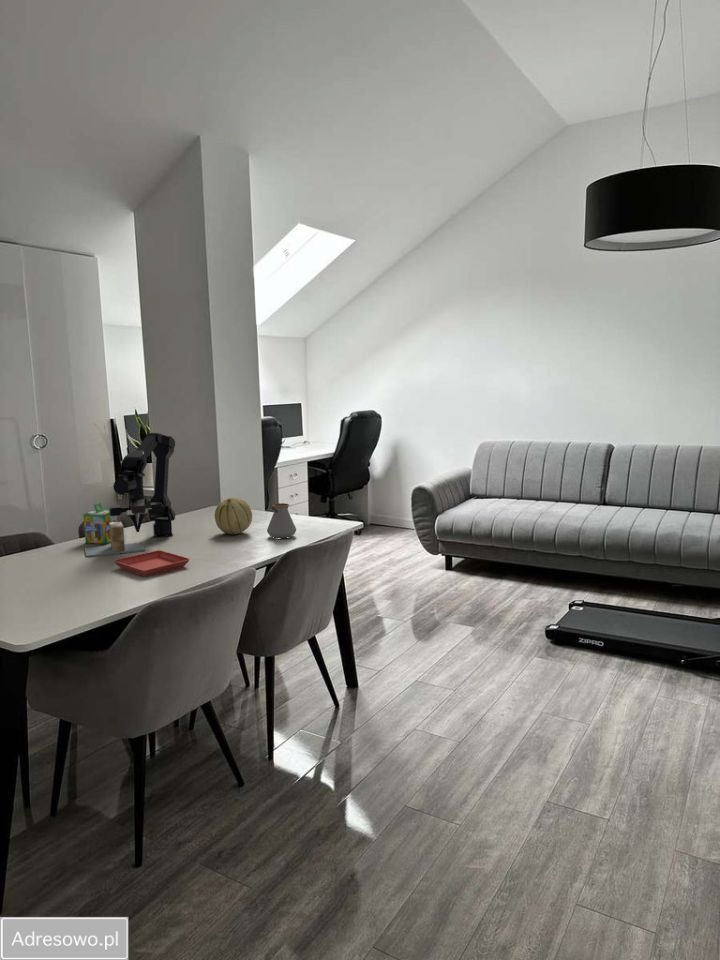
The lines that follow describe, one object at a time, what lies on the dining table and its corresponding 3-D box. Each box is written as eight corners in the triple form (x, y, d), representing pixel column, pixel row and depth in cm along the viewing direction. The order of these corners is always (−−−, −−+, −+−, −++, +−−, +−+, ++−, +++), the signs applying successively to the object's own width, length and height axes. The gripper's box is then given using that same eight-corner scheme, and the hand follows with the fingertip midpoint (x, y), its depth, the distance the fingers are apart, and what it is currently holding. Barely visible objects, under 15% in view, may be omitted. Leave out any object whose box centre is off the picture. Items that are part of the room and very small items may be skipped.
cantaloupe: (254, 529, 291) (253, 493, 289) (250, 537, 277) (249, 499, 274) (218, 530, 291) (217, 493, 288) (212, 538, 276) (210, 500, 274)
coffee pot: (270, 533, 284) (269, 496, 282) (299, 533, 283) (298, 496, 280) (257, 546, 263) (256, 506, 261) (288, 547, 262) (287, 507, 259)
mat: (141, 543, 268) (140, 542, 268) (145, 551, 257) (145, 549, 257) (84, 549, 260) (84, 548, 260) (86, 557, 249) (86, 555, 249)
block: (122, 545, 263) (121, 521, 262) (124, 550, 256) (123, 525, 255) (111, 546, 262) (109, 522, 260) (113, 551, 255) (111, 526, 253)
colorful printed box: (106, 544, 267) (104, 506, 265) (84, 543, 269) (81, 505, 267) (119, 539, 276) (117, 501, 274) (98, 538, 278) (95, 501, 276)
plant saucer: (191, 567, 236) (191, 558, 236) (144, 580, 223) (143, 569, 222) (159, 558, 248) (159, 549, 247) (112, 570, 234) (112, 560, 234)
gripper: (110, 495, 248) (113, 539, 250) (165, 491, 255) (167, 533, 258) (107, 490, 258) (110, 532, 260) (160, 487, 265) (162, 527, 268)
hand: (137, 531), depth 261 cm, fingers closed
